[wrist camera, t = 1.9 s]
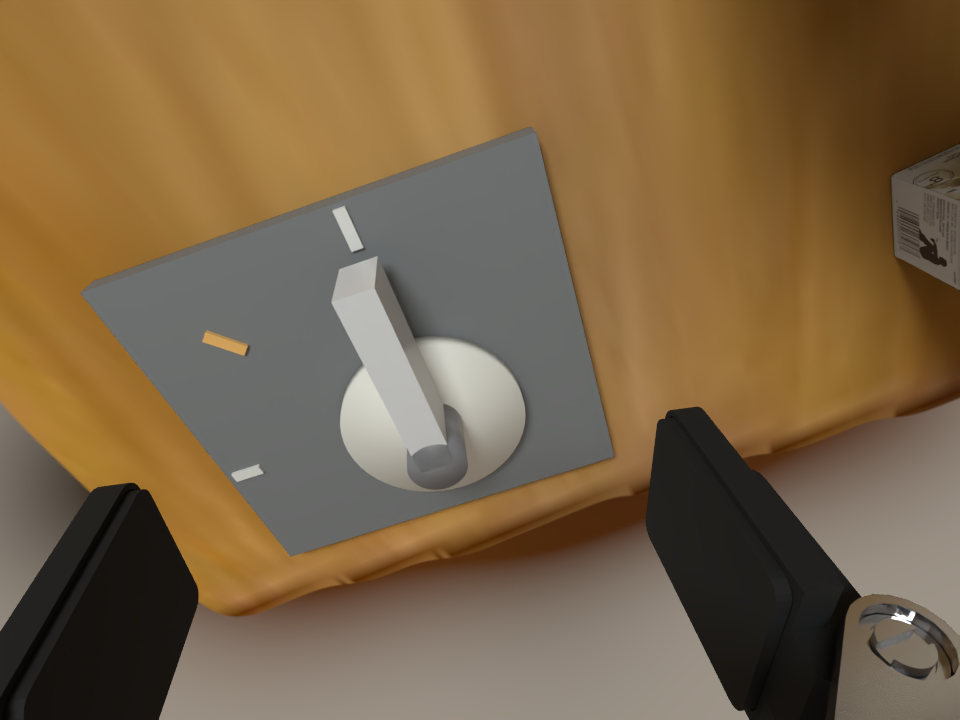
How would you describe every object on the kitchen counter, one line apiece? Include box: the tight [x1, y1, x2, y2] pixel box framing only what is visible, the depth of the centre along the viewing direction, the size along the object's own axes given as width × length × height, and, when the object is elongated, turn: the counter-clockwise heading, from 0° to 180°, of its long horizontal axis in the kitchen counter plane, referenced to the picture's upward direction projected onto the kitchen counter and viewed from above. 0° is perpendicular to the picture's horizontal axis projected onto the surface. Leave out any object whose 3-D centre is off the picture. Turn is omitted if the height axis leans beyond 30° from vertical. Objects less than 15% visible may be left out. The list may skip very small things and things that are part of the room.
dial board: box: [81, 127, 614, 556], centre depth 37 cm, size 26×24×2 cm
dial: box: [331, 256, 526, 492], centre depth 34 cm, size 18×12×5 cm, turn 18°
